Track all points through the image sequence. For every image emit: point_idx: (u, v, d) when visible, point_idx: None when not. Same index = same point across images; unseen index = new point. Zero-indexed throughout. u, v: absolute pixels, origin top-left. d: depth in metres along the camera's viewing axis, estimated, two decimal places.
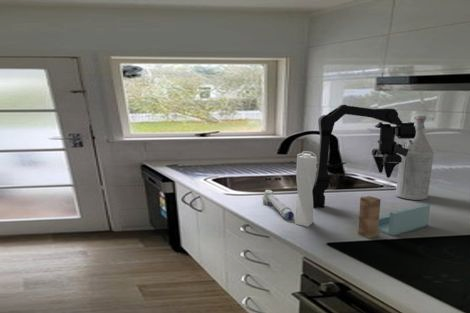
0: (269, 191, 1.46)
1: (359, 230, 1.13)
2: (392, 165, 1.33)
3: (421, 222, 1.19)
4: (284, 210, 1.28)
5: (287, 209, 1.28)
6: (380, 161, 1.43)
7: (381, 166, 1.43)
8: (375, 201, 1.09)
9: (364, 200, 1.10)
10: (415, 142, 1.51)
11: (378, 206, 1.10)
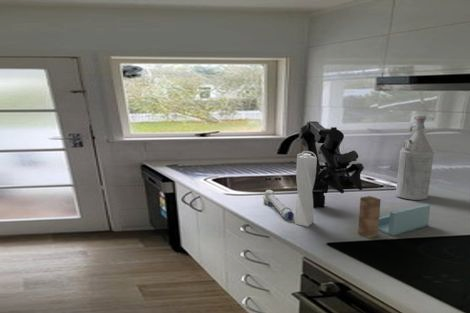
0: (270, 191, 1.46)
1: (359, 230, 1.13)
2: (333, 179, 1.17)
3: (421, 222, 1.19)
4: (284, 210, 1.28)
5: (287, 209, 1.28)
6: (354, 178, 1.23)
7: (357, 183, 1.21)
8: (375, 201, 1.09)
9: (364, 200, 1.10)
10: (415, 142, 1.51)
11: (378, 206, 1.10)
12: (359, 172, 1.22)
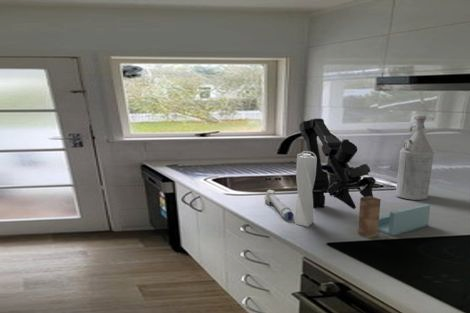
0: (271, 191, 1.46)
1: (359, 230, 1.13)
2: (344, 194, 1.13)
3: (421, 222, 1.19)
4: (284, 210, 1.28)
5: (287, 209, 1.28)
6: (366, 193, 1.18)
7: None
8: (375, 201, 1.09)
9: (364, 200, 1.10)
10: (415, 142, 1.51)
11: (378, 206, 1.10)
12: (371, 186, 1.18)
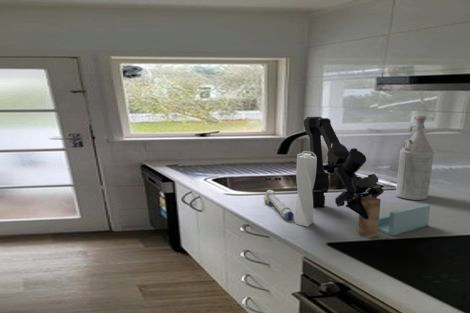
0: (271, 191, 1.46)
1: (359, 230, 1.13)
2: (357, 204, 1.11)
3: (421, 222, 1.19)
4: (284, 210, 1.28)
5: (287, 209, 1.28)
6: None
7: None
8: (375, 201, 1.09)
9: (364, 200, 1.10)
10: (415, 142, 1.51)
11: (378, 206, 1.10)
12: (375, 197, 1.14)
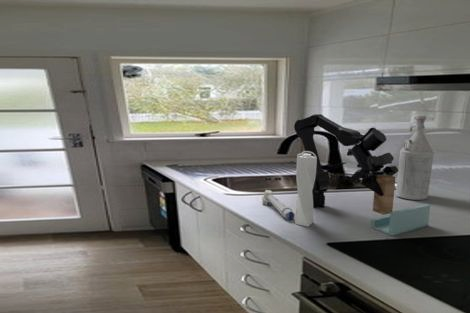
0: (269, 191, 1.46)
1: (374, 207, 1.16)
2: (372, 181, 1.14)
3: (421, 222, 1.19)
4: (285, 210, 1.28)
5: (288, 209, 1.28)
6: None
7: None
8: (390, 178, 1.12)
9: (379, 177, 1.13)
10: (415, 142, 1.51)
11: (393, 183, 1.13)
12: None
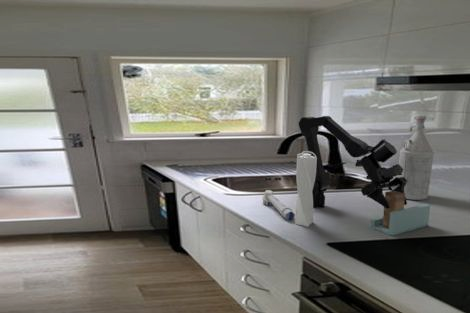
0: (269, 191, 1.46)
1: (384, 223, 1.18)
2: (378, 194, 1.15)
3: (421, 222, 1.19)
4: (285, 210, 1.28)
5: (288, 209, 1.28)
6: None
7: None
8: (400, 195, 1.14)
9: (389, 194, 1.15)
10: (415, 142, 1.51)
11: (403, 200, 1.15)
12: (403, 186, 1.19)
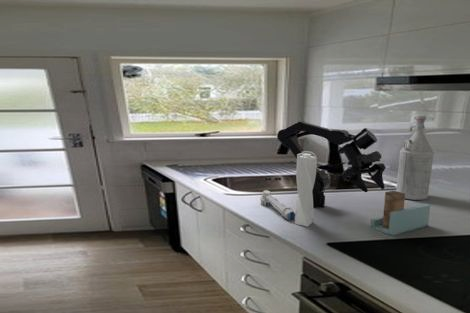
0: (267, 192, 1.45)
1: (384, 223, 1.18)
2: (357, 178, 1.22)
3: (421, 222, 1.19)
4: (285, 211, 1.27)
5: (288, 209, 1.28)
6: (376, 178, 1.28)
7: (379, 182, 1.26)
8: (400, 195, 1.14)
9: (389, 194, 1.15)
10: (415, 142, 1.51)
11: (403, 200, 1.15)
12: (381, 172, 1.27)
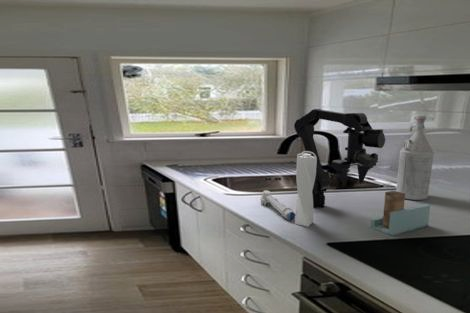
0: (267, 192, 1.45)
1: (384, 223, 1.18)
2: (343, 172, 1.25)
3: (421, 222, 1.19)
4: (285, 211, 1.27)
5: (288, 210, 1.27)
6: (361, 170, 1.32)
7: (361, 176, 1.31)
8: (400, 195, 1.14)
9: (389, 194, 1.15)
10: (415, 142, 1.51)
11: (403, 200, 1.15)
12: (369, 169, 1.30)
